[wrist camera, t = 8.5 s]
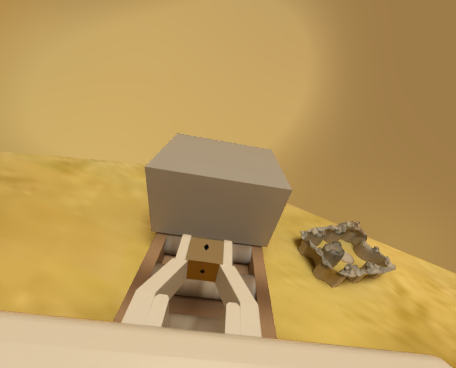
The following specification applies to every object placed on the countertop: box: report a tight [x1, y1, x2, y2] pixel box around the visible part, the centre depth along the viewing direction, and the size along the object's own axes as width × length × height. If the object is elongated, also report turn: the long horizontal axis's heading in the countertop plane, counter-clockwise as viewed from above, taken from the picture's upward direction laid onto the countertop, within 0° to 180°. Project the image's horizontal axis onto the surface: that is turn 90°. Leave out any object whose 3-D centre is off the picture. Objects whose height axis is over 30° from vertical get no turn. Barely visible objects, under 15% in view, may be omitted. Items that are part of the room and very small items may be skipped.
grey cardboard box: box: [145, 133, 292, 247], centre depth 21 cm, size 10×13×8 cm
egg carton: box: [298, 221, 396, 288], centre depth 23 cm, size 11×8×4 cm
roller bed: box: [113, 232, 277, 339], centre depth 20 cm, size 22×13×9 cm, turn 178°
